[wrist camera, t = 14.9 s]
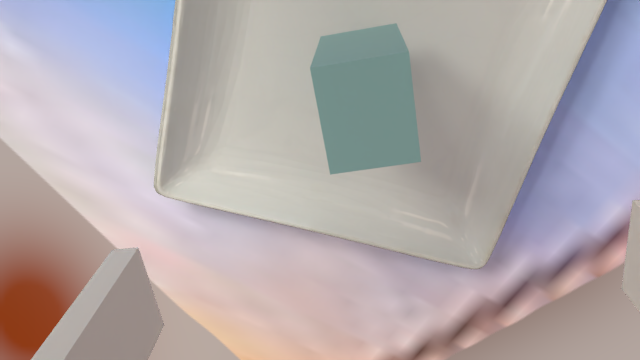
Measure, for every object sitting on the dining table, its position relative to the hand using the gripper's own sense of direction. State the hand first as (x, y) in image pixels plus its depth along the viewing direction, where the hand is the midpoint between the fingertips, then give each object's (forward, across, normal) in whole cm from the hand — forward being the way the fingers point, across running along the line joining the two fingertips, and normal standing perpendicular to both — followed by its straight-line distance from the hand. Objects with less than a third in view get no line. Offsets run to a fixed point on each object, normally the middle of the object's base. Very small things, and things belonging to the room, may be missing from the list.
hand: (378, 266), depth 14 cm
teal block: (+23, 0, -1) cm, 23 cm away
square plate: (+28, 0, -1) cm, 28 cm away
